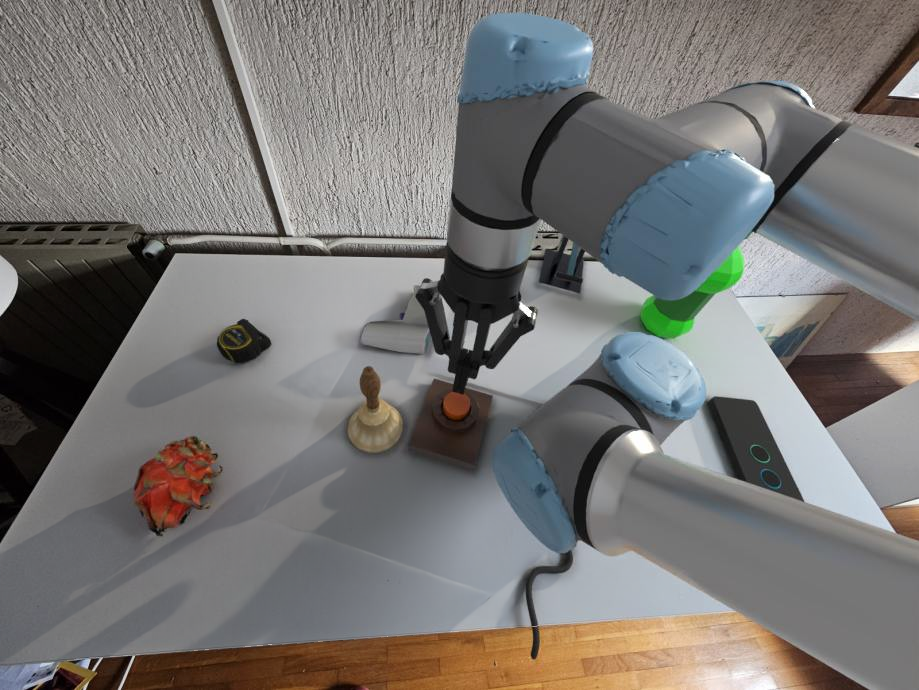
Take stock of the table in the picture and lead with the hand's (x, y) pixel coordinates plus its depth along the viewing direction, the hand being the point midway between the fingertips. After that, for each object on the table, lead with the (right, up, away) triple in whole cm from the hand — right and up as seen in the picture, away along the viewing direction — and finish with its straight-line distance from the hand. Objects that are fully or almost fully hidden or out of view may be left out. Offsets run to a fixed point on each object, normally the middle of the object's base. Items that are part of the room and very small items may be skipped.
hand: (460, 385), depth 52 cm
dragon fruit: (-35, -14, -2) cm, 38 cm away
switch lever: (+22, +23, +22) cm, 39 cm away
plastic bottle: (+40, +9, +26) cm, 49 cm away
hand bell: (-13, -7, +6) cm, 16 cm away
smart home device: (+47, -13, +10) cm, 50 cm away
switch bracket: (+22, +21, +33) cm, 45 cm away
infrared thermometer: (-11, +10, +19) cm, 24 cm away
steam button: (-1, -4, +5) cm, 7 cm away
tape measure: (-36, +5, +13) cm, 39 cm away
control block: (-1, -7, +7) cm, 10 cm away
